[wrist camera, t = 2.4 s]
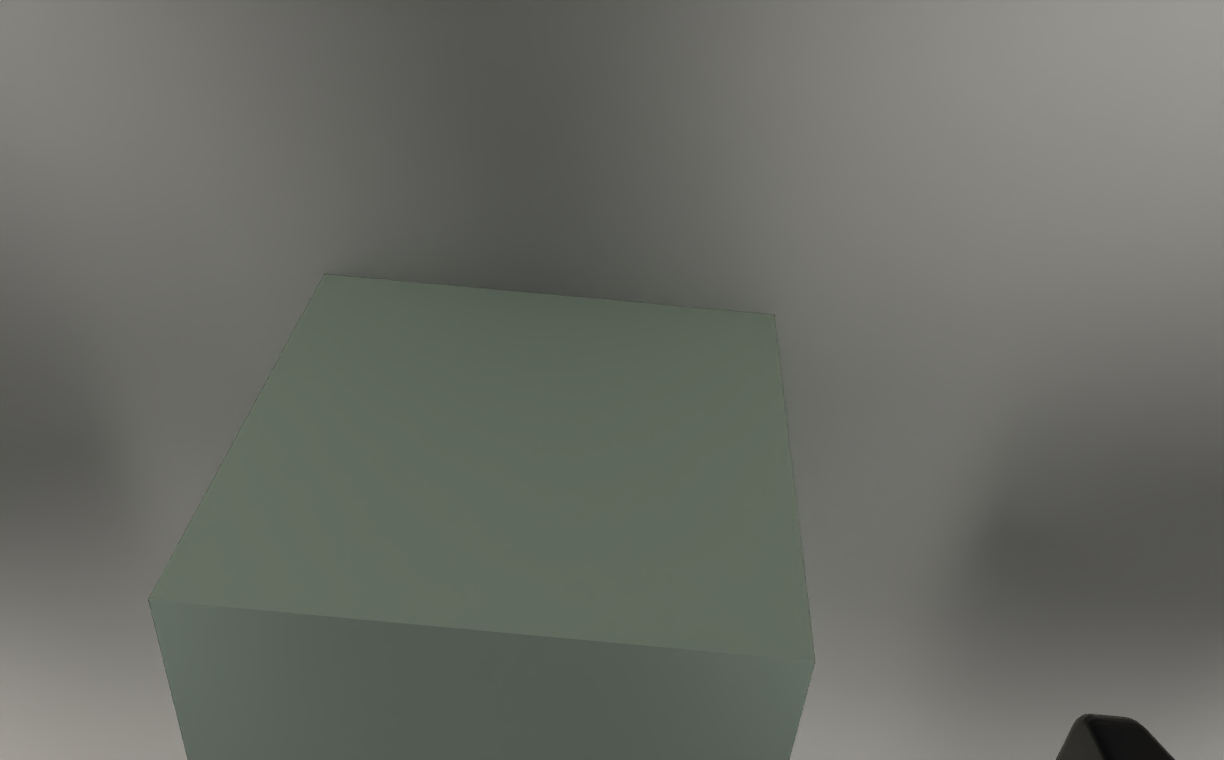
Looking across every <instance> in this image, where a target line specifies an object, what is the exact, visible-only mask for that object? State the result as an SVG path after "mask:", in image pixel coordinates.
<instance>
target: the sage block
mask: <svg viewBox="0 0 1224 760" xmlns="http://www.w3.org/2000/svg"><path fill="white" fill-rule="evenodd" d="M148 601H149V605H150V609H151V613H152V617H153V621H154V625H155V629H156V633H157V637H158V641H159V645H160V649H161V653H162V657H163V662H164V666H165V670H166V674H167V678H168V682H169V686H170V690H171V694H172V698H173V702H174V706H175V710H176V714H177V718H178V722H179V726H180V730H181V734H182V739H183V743H184V747H185V751H186V755H187V759H188V760H789V759H790V755H791V751H792V747H793V744H794V740H795V736H796V732H797V728H798V725H799V721H800V717H801V713H802V710H803V706H804V702H805V698H806V694H807V691H808V687H809V683H810V679H811V676H812V672H813V668H814V664H815V655H814V646H813V638H812V629H811V621H810V612H809V604H808V595H807V587H806V578H805V570H804V561H803V553H802V545H801V536H800V528H799V519H798V511H797V502H796V494H795V485H794V477H793V468H792V460H791V451H790V443H789V434H788V426H787V417H786V409H785V400H784V392H783V383H782V375H781V366H780V358H779V349H778V341H777V332H776V324H775V316H774V315H773V314H762V313H751V312H740V311H729V310H718V309H706V308H695V307H684V306H673V305H662V304H651V303H640V302H629V301H618V300H607V299H596V298H585V297H574V296H563V295H552V294H540V293H529V292H518V291H507V290H496V289H485V288H474V287H463V286H452V285H441V284H430V283H419V282H408V281H397V280H386V279H374V278H363V277H352V276H341V275H330V274H324V276H323V278H322V280H321V281H320V283H319V285H318V287H317V289H316V291H315V293H314V294H313V296H312V298H311V300H310V302H309V304H308V305H307V307H306V309H305V311H304V313H303V315H302V317H301V318H300V320H299V322H298V324H297V326H296V328H295V329H294V331H293V333H292V335H291V337H290V339H289V341H288V342H287V344H286V346H285V348H284V350H283V352H282V354H281V355H280V357H279V359H278V361H277V363H276V365H275V366H274V368H273V370H272V372H271V374H270V376H269V378H268V379H267V381H266V383H265V385H264V387H263V389H262V391H261V392H260V394H259V396H258V398H257V400H256V402H255V403H254V405H253V407H252V409H251V411H250V413H249V415H248V416H247V418H246V420H245V422H244V424H243V426H242V427H241V429H240V431H239V433H238V435H237V437H236V439H235V440H234V442H233V444H232V446H231V448H230V450H229V452H228V453H227V455H226V457H225V459H224V461H223V463H222V464H221V466H220V468H219V470H218V472H217V474H216V476H215V477H214V479H213V481H212V483H211V485H210V487H209V488H208V490H207V492H206V494H205V496H204V498H203V500H202V501H201V503H200V505H199V507H198V509H197V511H196V513H195V514H194V516H193V518H192V520H191V522H190V524H189V525H188V527H187V529H186V531H185V533H184V535H183V537H182V538H181V540H180V542H179V544H178V546H177V548H176V550H175V551H174V553H173V555H172V557H171V559H170V561H169V562H168V564H167V566H166V568H165V570H164V572H163V574H162V575H161V577H160V579H159V581H158V583H157V585H156V586H155V588H154V590H153V592H152V594H151V596H150V598H149V599H148Z"/></svg>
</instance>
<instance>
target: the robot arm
mask: <svg viewBox="0 0 1224 760" xmlns="http://www.w3.org/2000/svg"><path fill="white" fill-rule="evenodd" d="M1056 760H1175V759H1174V758H1173V757H1172V756H1171V755H1170V754H1169V753H1168V752H1167V751H1166V750H1165V749H1164V747H1163V746H1162V745H1161V744H1160V743H1159V742H1158V741H1157V740H1156V739H1155V738H1154V737H1153V736H1152V735H1151V734H1150V732H1149V731H1148V730H1147V729H1146V728H1145V727H1144V726H1142V725H1141V724H1140V723H1138V722H1137V721H1135V720H1133V719H1131V718H1126V717H1119V716H1108V715H1097V714H1084V715H1082V716H1081V717H1079V718H1078V719H1076V721H1075V723H1074V724H1073V726H1072V728H1071V730H1070V732H1069V734H1068V736H1067V738H1066V740H1065V742H1064V744H1063V746H1062V748H1061V750H1060V752H1059V754H1058V756H1057V758H1056Z"/></svg>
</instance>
